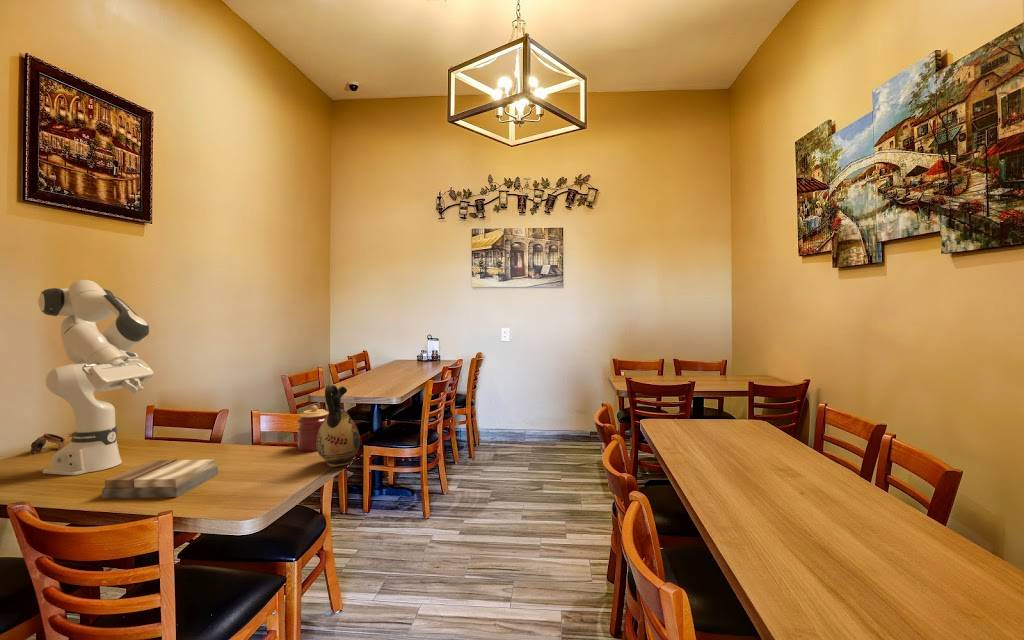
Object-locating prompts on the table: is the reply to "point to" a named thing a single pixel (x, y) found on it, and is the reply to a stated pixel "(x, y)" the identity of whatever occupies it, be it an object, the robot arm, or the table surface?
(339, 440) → the ceramic jug
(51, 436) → the strapped headlamp
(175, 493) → the grey flat block
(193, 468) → the plank
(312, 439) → the canister
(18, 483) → the table surface
